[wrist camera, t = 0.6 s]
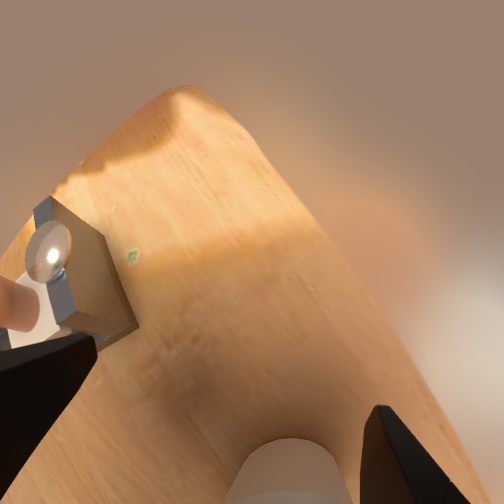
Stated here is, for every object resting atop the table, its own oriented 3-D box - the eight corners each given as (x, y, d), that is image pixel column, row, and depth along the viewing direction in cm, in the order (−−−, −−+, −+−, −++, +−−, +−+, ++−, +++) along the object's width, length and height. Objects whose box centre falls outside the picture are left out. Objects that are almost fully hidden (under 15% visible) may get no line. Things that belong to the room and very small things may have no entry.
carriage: (53, 262, 23) (-21, 223, 15) (72, 332, 21) (-15, 310, 12) (11, 297, 23) (-58, 271, 14) (27, 362, 21) (-52, 350, 12)
